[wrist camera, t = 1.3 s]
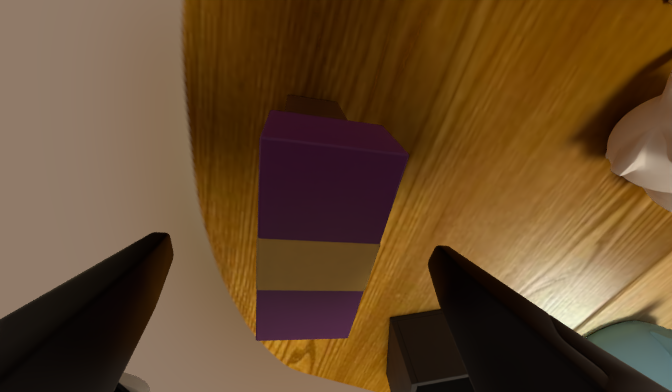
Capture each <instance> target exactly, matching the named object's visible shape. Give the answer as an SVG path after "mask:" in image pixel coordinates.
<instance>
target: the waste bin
mask: <svg viewBox="0 0 672 392" xmlns="http://www.w3.org/2000/svg"><path fill="white" fill-rule="evenodd" d="M386 375H387V378H388V382H389V386H390V390H391V392H475V391H474V389H473V386H472V384H471V381H470V379H469V376H468V374H467V372H466V369H465V367H464V364H463V362H462V359H461V357H460V354H459V352H458V349H457V347H456V345H455V342H454V340H453V337H452V335H451V332H450V330H449V327H448V325H447V323H446V320H445V318H444V315H443V313H442V310H435V311H429V312H423V313H417V314H411V315H405V316H398V317H392V318H390V327H389V342H388V357H387V372H386Z"/></svg>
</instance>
